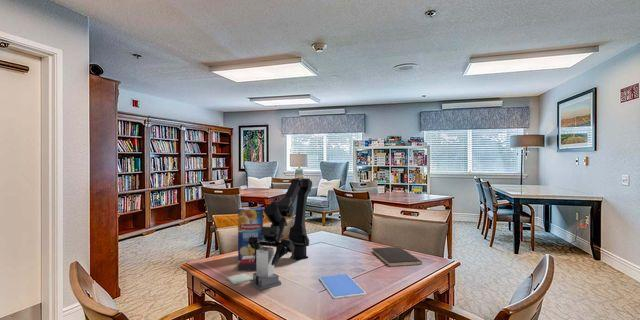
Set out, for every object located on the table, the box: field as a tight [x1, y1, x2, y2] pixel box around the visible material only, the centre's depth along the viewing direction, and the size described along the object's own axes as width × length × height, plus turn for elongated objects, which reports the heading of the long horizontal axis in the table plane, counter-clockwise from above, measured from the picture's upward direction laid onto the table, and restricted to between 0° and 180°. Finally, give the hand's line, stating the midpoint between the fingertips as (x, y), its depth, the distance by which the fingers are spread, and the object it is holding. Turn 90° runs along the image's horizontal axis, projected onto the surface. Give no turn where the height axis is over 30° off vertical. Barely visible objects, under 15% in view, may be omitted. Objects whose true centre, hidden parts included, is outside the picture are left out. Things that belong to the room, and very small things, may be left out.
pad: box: [226, 272, 253, 285], centre depth 126 cm, size 8×8×1 cm
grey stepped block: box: [256, 246, 275, 278], centre depth 120 cm, size 7×5×10 cm
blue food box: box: [237, 206, 264, 261], centre depth 155 cm, size 12×8×24 cm, turn 100°
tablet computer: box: [318, 273, 367, 300], centre depth 118 cm, size 19×13×1 cm, turn 16°
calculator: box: [237, 256, 257, 272], centre depth 141 cm, size 11×4×15 cm
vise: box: [249, 271, 282, 291], centre depth 121 cm, size 9×9×6 cm
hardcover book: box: [371, 246, 423, 267], centre depth 153 cm, size 16×23×2 cm
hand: (263, 264), depth 120 cm, fingers open, 7 cm apart
